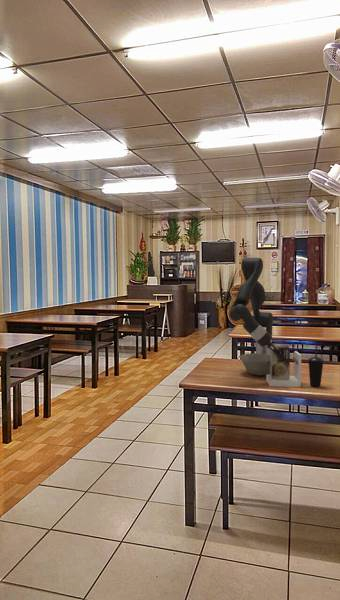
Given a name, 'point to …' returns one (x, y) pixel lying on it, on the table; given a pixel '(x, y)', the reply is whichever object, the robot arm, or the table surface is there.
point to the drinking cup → (315, 370)
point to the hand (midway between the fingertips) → (283, 358)
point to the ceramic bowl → (256, 363)
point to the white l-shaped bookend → (294, 380)
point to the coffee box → (280, 364)
